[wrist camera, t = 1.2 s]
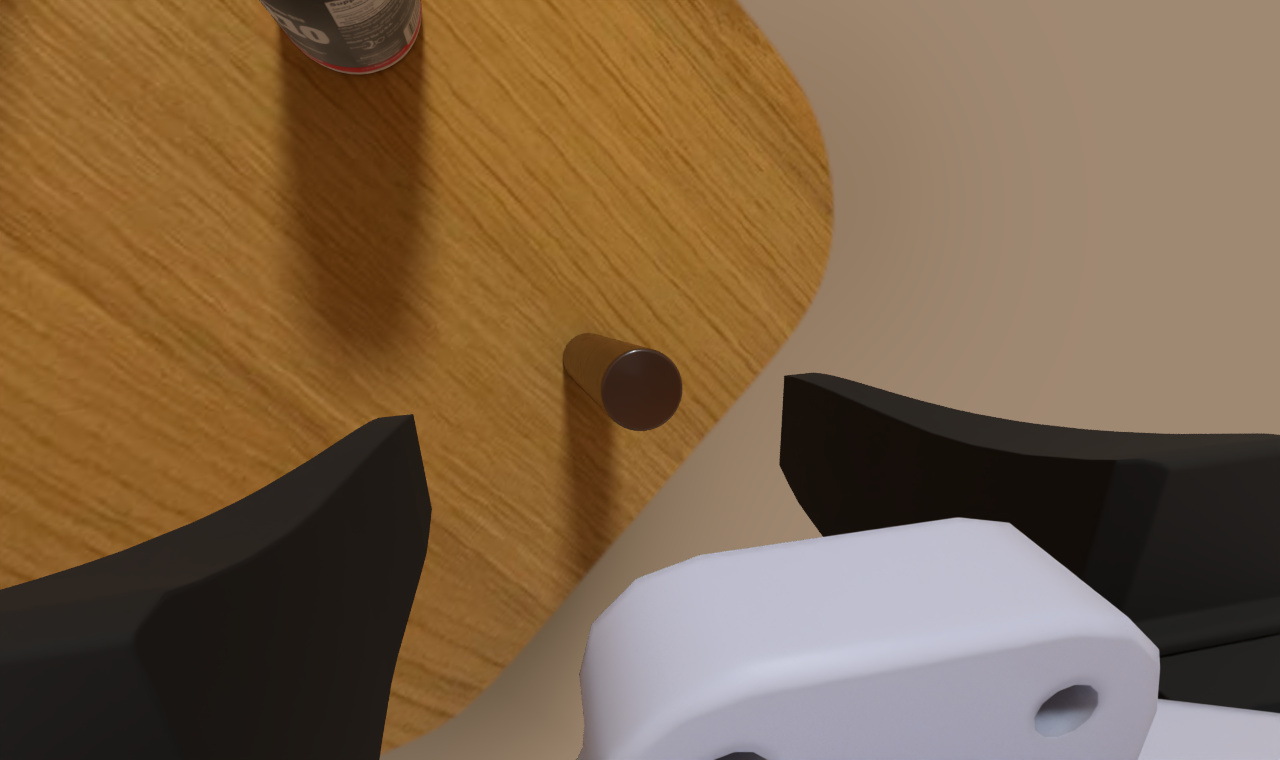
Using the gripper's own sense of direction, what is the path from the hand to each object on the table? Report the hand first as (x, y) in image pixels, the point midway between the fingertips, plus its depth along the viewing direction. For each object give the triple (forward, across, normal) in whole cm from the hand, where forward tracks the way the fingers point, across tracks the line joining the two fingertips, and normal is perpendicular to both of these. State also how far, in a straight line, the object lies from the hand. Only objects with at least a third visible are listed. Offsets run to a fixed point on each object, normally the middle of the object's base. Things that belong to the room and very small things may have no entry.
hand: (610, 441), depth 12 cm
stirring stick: (+12, -1, +3) cm, 13 cm away
